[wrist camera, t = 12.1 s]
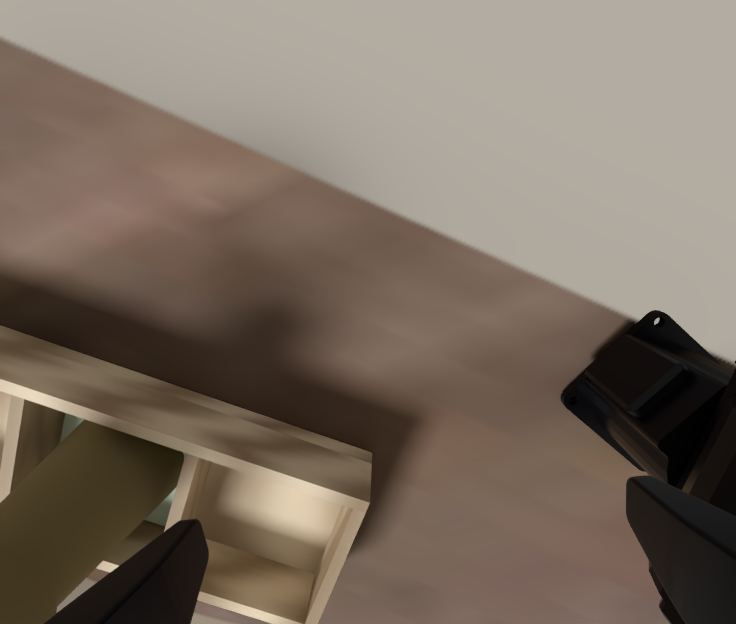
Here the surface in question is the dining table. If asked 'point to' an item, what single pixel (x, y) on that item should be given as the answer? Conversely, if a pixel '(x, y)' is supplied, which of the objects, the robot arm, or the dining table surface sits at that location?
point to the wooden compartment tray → (200, 475)
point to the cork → (76, 515)
